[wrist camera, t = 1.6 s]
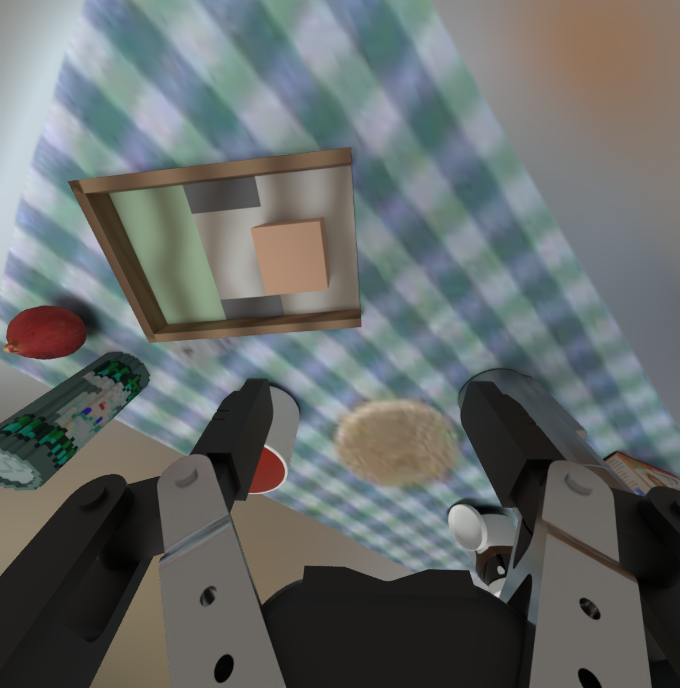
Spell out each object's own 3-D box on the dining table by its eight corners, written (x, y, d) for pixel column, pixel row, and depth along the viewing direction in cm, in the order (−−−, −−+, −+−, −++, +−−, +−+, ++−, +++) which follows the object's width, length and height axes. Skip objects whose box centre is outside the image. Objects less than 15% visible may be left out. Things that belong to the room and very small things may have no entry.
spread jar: (494, 532, 54) (528, 610, 44) (438, 530, 55) (459, 607, 44) (513, 497, 49) (557, 577, 38) (451, 495, 49) (478, 575, 39)
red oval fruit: (114, 335, 34) (53, 371, 27) (75, 343, 35) (6, 380, 28) (83, 292, 31) (7, 320, 24) (42, 301, 32) (-44, 331, 25)
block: (323, 217, 26) (319, 221, 22) (330, 277, 29) (328, 290, 25) (264, 223, 27) (250, 228, 23) (277, 282, 30) (266, 295, 26)
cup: (228, 377, 37) (191, 434, 28) (301, 383, 37) (286, 441, 28) (237, 429, 42) (207, 491, 33) (301, 434, 42) (288, 497, 33)
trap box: (350, 152, 24) (350, 147, 21) (360, 316, 32) (361, 326, 29) (96, 182, 26) (67, 181, 23) (164, 331, 33) (149, 342, 31)
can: (156, 387, 38) (55, 488, 25) (116, 389, 38) (-4, 491, 25) (136, 350, 35) (10, 443, 22) (93, 353, 35) (-57, 447, 22)
